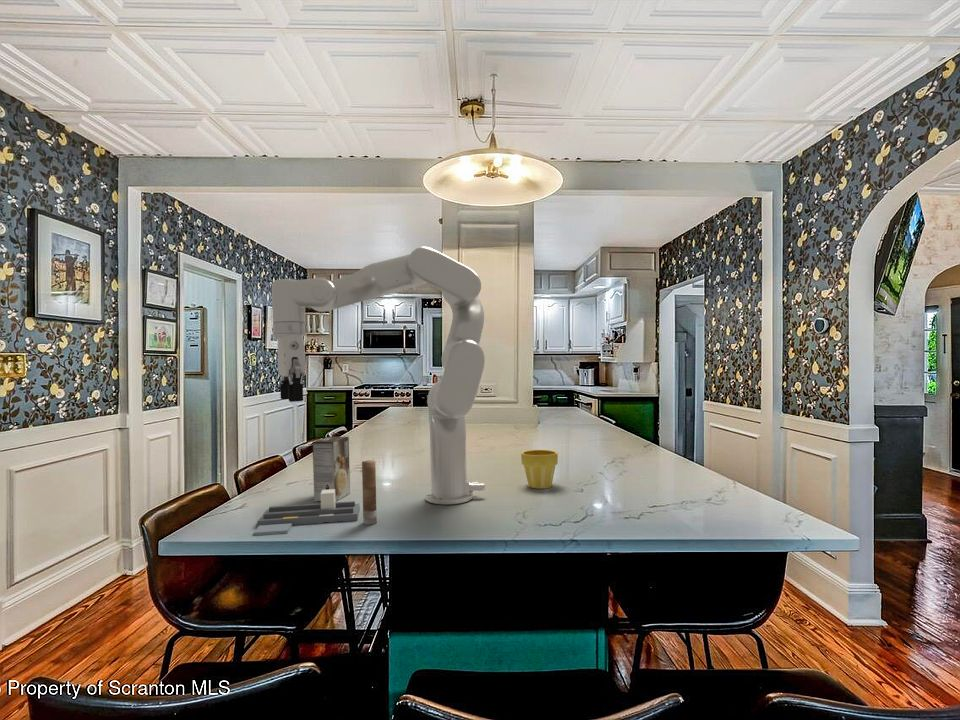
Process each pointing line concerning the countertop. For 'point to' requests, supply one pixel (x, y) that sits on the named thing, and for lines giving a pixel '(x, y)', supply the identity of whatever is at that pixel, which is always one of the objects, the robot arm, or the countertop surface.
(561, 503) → the countertop surface
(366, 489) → the brown rod
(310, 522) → the switch panel
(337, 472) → the coffee box
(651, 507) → the countertop surface
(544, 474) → the plant pot
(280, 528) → the tool mat
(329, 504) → the switch tab
